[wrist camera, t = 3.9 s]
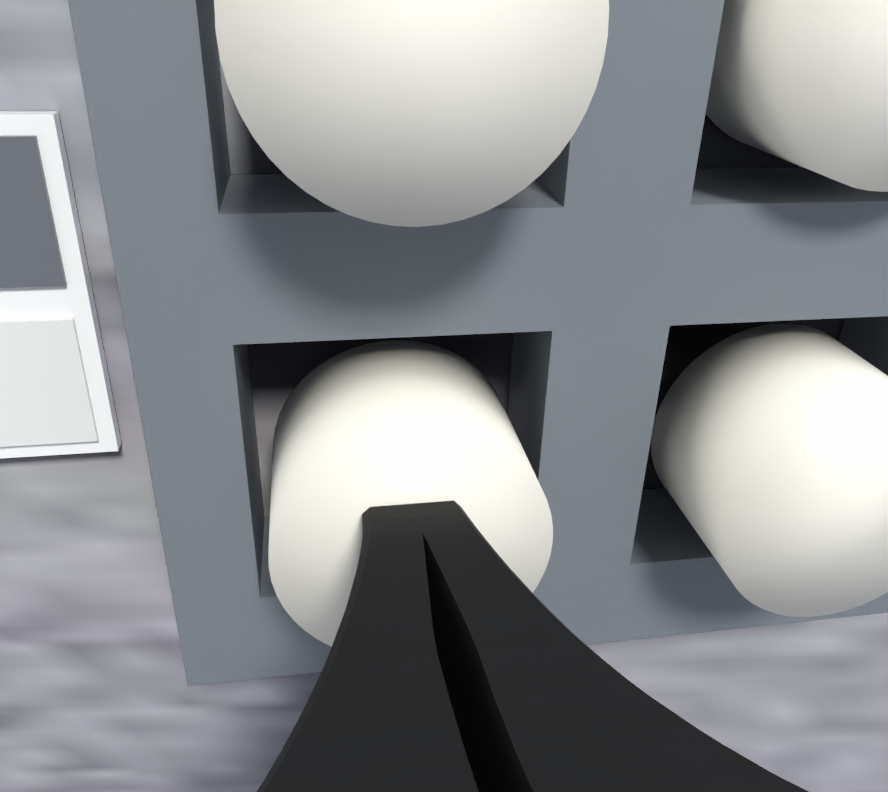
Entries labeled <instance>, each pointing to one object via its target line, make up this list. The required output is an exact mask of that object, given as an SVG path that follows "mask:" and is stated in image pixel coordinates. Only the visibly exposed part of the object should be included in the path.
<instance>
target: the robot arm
mask: <svg viewBox="0 0 888 792" xmlns="http://www.w3.org/2000/svg"><path fill="white" fill-rule="evenodd" d="M362 533H363V536H362V545H361V551H360V556H359V561H358V566H357V570H356V574H355V578H354V581H353V585H352V588H351V592H350V596H349V599H348V603H347V606H346V609H345V612H344V615H343V618H342V621H341V623H340V626H339V629H338V631H337V634H336V637H335V639H334V642H333V645H332V648H331V650H330V653H329V655H328V658H327V660H326V663H325V665H324V667H323V670H322V672H321V674H320V676H319V679H318V681H317V683H316V685H315V687H314V689H313V692H312V694H311V696H310V698H309V700H308V702H307V704H306V706H305V708H304V710H303V712H302V714H301V716H300V718H299V720H298V722H297V723H296V725H295V727H294V729H293V731H292V733H291V735H290V736H289V738H288V740H287V742H286V744H285V746H284V747H283V749H282V751H281V753H280V755H279V756H278V758H277V760H276V762H275V763H274V765H273V767H272V768H271V770H270V772H269V773H268V775H267V777H266V778H265V780H264V782H263V783H262V785H261V786H260V788H259V789H258V791H257V792H808V791H806V790H804V789H802V788H800V787H798V786H796V785H794V784H792V783H790V782H788V781H786V780H784V779H782V778H780V777H778V776H776V775H775V774H773V773H771V772H769V771H767V770H766V769H764V768H762V767H760V766H759V765H757V764H755V763H754V762H752V761H750V760H748V759H747V758H745V757H743V756H742V755H740V754H738V753H736V752H735V751H733V750H731V749H729V748H728V747H726V746H724V745H723V744H721V743H719V742H718V741H716V740H715V739H713V738H711V737H710V736H708V735H707V734H705V733H703V732H702V731H700V730H699V729H697V728H696V727H694V726H693V725H691V724H690V723H688V722H687V721H685V720H684V719H682V718H681V717H679V716H678V715H676V714H675V713H674V712H672V711H671V710H669V709H668V708H666V707H665V706H663V705H662V704H660V703H659V702H657V701H656V700H654V699H653V698H651V697H650V696H649V695H647V694H646V693H644V692H643V691H642V690H640V689H639V688H638V687H636V686H635V685H634V684H632V683H631V682H630V681H629V680H627V679H626V678H625V677H623V676H622V675H621V674H620V673H619V672H617V671H616V670H615V669H614V668H612V667H611V666H610V665H609V664H608V663H606V662H605V661H604V660H603V659H601V658H600V657H599V656H598V655H597V654H596V653H594V652H593V651H592V650H591V649H590V648H589V647H588V646H587V645H585V644H584V643H583V642H582V641H581V640H580V639H579V638H578V637H577V636H576V635H574V634H573V633H572V632H571V631H570V630H569V629H568V628H567V627H566V626H565V625H564V624H563V623H562V622H561V621H560V620H559V619H558V618H557V617H556V616H555V615H554V614H553V613H552V612H551V611H550V610H549V609H548V608H547V607H546V606H545V605H544V604H543V603H542V602H541V601H540V600H539V599H538V598H537V597H536V596H535V595H534V594H533V593H532V592H531V591H530V590H529V588H528V587H527V586H526V585H525V584H524V583H523V582H522V581H521V580H520V579H519V578H518V576H517V575H516V574H515V573H514V572H513V571H512V570H511V569H510V568H509V566H508V565H507V564H506V563H505V562H504V561H503V560H502V558H501V557H500V556H499V555H498V554H497V552H496V551H495V550H494V549H493V548H492V546H491V545H490V544H489V543H488V541H487V540H486V539H485V538H484V536H483V535H482V534H481V533H480V531H479V530H478V529H477V528H476V526H475V525H474V524H473V522H472V521H471V520H470V518H469V517H468V516H467V514H466V513H465V512H464V510H463V509H462V507H461V506H460V505H459V504H457V503H456V502H455V501H454V500H453V501H440V502H427V503H414V504H401V505H388V506H376V507H369V508H368V509H367V510H366V511H365V512H364V513H363V514H362Z"/></svg>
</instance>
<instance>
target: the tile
mask: <svg viewBox="0 0 888 792" xmlns="http://www.w3.org/2000/svg"><path fill="white" fill-rule="evenodd" d="M120 445H121V438H120V433H119V427H118V422H117V417H116V412H115V406H114V401H113V396H112V391H111V385H110V380H109V375H108V370H107V364H106V359H105V354H104V349H103V343H102V338H101V333H100V328H99V322H98V317H97V312H96V307H95V301H94V296H93V291H92V286H91V281H90V275H89V270H88V265H87V260H86V254H85V249H84V244H83V239H82V233H81V228H80V223H79V218H78V212H77V207H76V202H75V197H74V191H73V186H72V181H71V176H70V170H69V165H68V160H67V155H66V149H65V144H64V139H63V134H62V128H61V123H60V118H59V113H58V111H29V112H0V458H17V457H33V456H49V455H65V454H81V453H97V452H113V451H119V448H120Z"/></svg>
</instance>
